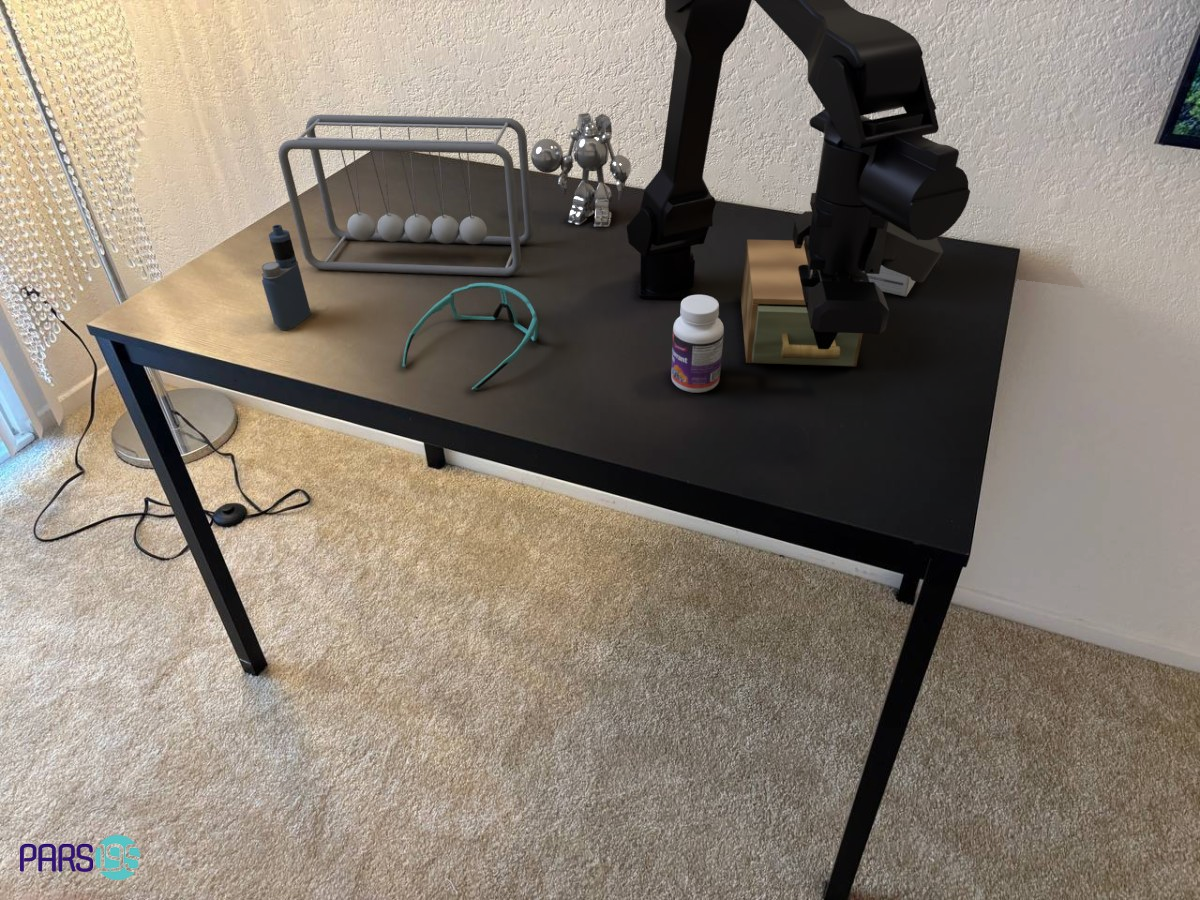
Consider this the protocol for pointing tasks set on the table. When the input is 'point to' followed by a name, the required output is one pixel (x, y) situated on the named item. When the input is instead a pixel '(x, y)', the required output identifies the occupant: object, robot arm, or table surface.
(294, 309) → the vaping device
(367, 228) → the newton's cradle
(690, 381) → the pill bottle
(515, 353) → the sunglasses
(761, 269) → the cabinet
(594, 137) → the robot toy
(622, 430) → the table surface
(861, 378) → the table surface
